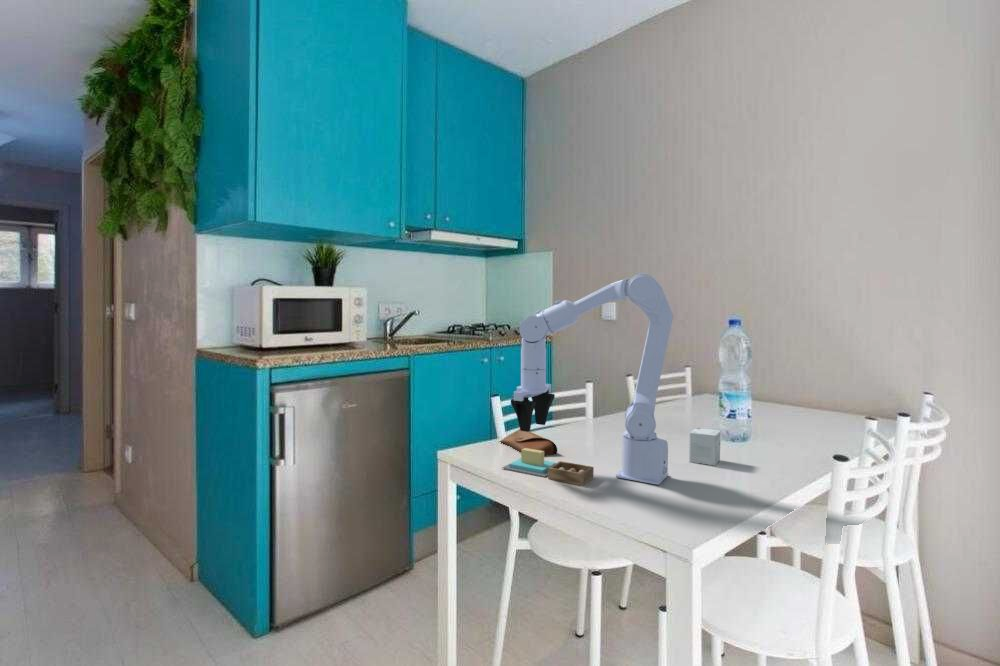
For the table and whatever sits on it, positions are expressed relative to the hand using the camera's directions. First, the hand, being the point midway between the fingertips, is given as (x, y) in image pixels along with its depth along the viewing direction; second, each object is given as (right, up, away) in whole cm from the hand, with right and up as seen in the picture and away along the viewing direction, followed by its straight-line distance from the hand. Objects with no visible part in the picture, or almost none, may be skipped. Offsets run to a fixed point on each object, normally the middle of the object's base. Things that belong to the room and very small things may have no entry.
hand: (533, 427), depth 122 cm
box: (+8, -10, -7) cm, 14 cm away
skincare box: (+42, -10, +7) cm, 44 cm away
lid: (0, -9, +1) cm, 9 cm away
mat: (0, -9, +1) cm, 9 cm away
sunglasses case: (-1, -9, +18) cm, 20 cm away
